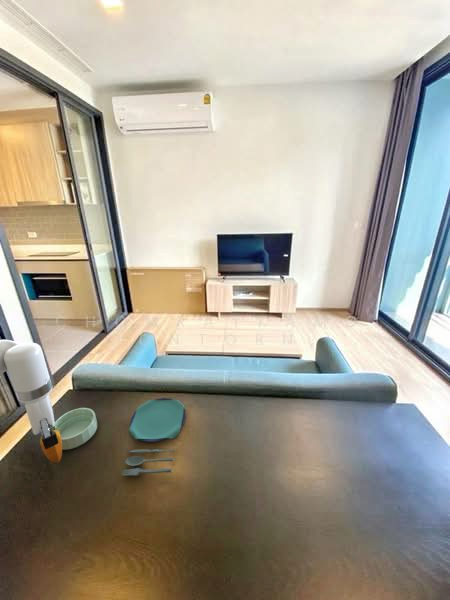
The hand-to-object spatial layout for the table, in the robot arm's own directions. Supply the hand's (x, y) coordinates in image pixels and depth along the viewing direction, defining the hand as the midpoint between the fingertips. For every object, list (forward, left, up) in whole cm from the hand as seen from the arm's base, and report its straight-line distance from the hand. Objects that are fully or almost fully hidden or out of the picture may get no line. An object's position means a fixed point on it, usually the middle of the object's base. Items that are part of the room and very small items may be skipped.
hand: (50, 438), depth 72 cm
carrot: (0, 0, -10) cm, 10 cm away
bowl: (+6, +10, -11) cm, 16 cm away
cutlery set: (+27, -8, -11) cm, 31 cm away
